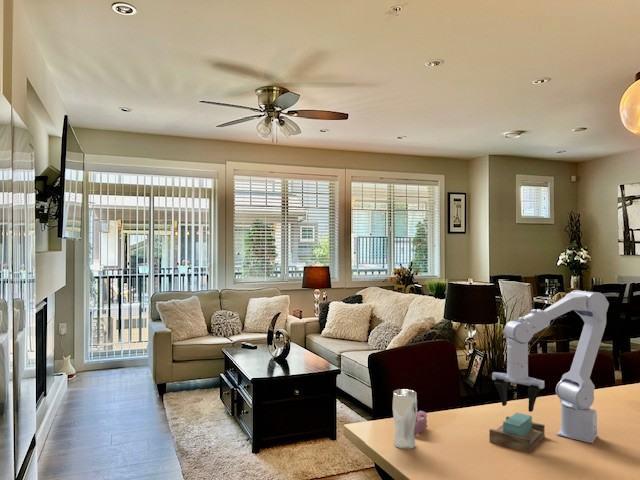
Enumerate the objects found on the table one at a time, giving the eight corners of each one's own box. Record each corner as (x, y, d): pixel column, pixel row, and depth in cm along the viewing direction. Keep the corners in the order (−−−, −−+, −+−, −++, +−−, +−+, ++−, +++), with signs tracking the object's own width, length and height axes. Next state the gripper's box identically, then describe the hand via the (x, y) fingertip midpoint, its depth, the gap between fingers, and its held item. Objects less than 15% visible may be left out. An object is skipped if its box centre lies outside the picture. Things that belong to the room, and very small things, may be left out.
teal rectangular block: (531, 429, 142) (531, 416, 142) (518, 440, 134) (518, 426, 134) (516, 425, 145) (516, 412, 145) (503, 435, 137) (503, 422, 137)
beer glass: (402, 451, 131) (402, 397, 131) (387, 442, 137) (387, 390, 137) (422, 447, 134) (422, 394, 134) (406, 438, 140) (407, 387, 140)
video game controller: (420, 442, 141) (431, 422, 140) (406, 434, 142) (417, 414, 141) (419, 430, 151) (429, 411, 150) (406, 422, 151) (416, 403, 151)
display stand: (544, 436, 142) (544, 425, 142) (528, 452, 131) (528, 440, 131) (507, 427, 149) (507, 416, 149) (489, 441, 138) (489, 429, 138)
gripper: (488, 360, 142) (488, 405, 142) (539, 368, 132) (539, 417, 132) (496, 356, 147) (496, 400, 147) (546, 364, 138) (546, 410, 138)
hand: (517, 407), depth 140 cm, fingers open, 7 cm apart
